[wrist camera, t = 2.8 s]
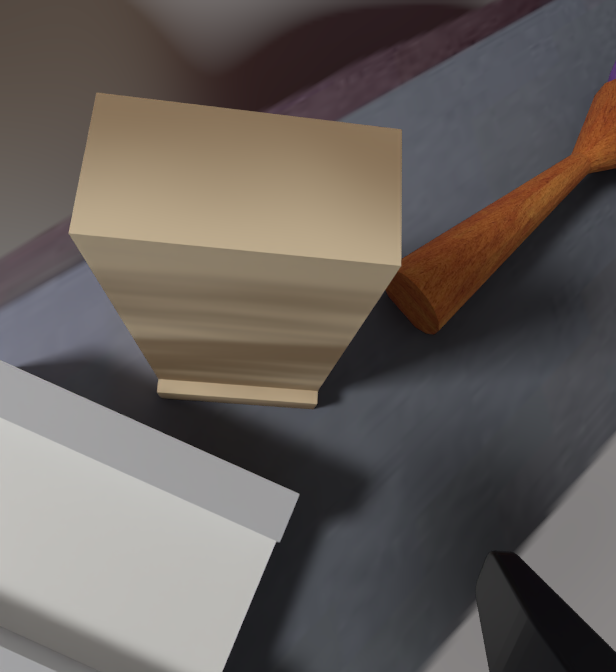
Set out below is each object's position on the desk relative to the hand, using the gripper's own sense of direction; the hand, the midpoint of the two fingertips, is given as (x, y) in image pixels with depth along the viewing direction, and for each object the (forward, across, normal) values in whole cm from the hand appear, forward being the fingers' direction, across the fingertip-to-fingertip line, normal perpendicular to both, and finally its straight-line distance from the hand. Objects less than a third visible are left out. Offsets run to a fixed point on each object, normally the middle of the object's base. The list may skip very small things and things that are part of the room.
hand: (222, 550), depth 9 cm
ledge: (+8, +5, +9) cm, 13 cm away
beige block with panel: (+14, 0, +4) cm, 14 cm away
